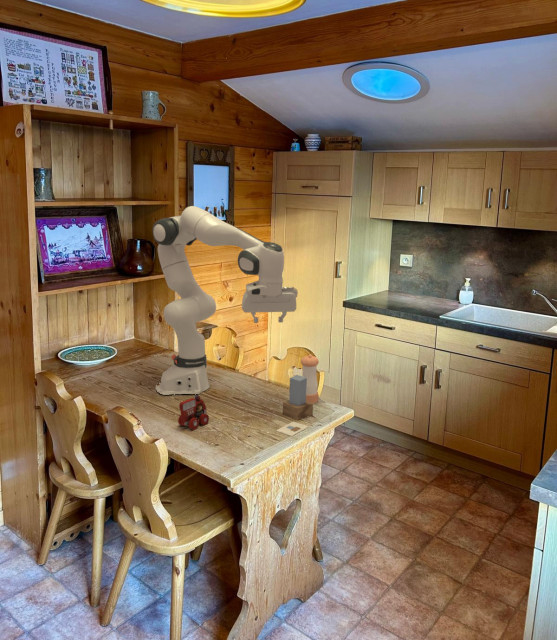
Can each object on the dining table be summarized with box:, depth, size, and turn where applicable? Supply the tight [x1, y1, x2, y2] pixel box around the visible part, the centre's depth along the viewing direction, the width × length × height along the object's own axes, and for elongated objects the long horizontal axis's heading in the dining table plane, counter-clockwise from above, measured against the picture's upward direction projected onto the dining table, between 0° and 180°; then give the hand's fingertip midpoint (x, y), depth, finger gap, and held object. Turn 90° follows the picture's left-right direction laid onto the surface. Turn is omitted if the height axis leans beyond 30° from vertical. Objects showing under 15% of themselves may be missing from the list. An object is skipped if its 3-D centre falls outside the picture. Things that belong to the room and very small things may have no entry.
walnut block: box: [282, 400, 314, 421], centre depth 230 cm, size 8×8×5 cm
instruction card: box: [276, 421, 310, 437], centre depth 217 cm, size 10×7×1 cm
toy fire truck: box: [177, 394, 210, 431], centre depth 220 cm, size 7×12×10 cm, turn 143°
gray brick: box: [288, 374, 307, 406], centre depth 228 cm, size 4×4×10 cm
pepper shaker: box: [300, 354, 319, 404], centre depth 242 cm, size 7×7×19 cm
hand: (268, 322), depth 228 cm, fingers open, 8 cm apart
